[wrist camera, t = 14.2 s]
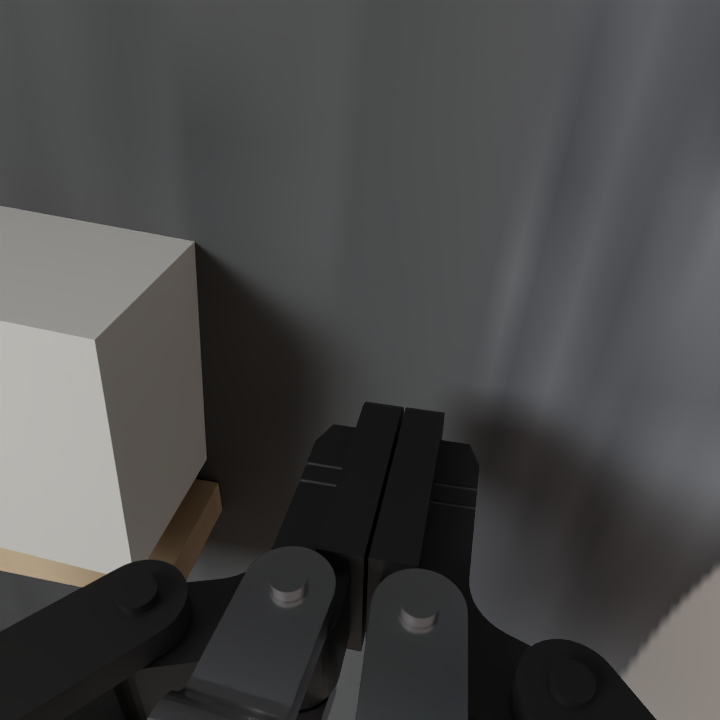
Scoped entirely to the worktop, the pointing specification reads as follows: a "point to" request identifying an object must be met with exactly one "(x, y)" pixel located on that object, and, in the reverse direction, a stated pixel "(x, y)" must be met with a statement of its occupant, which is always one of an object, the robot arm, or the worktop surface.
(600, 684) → the robot arm
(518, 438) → the worktop surface
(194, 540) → the row of books
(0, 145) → the worktop surface
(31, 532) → the off-white matte block
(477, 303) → the worktop surface
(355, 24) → the worktop surface
